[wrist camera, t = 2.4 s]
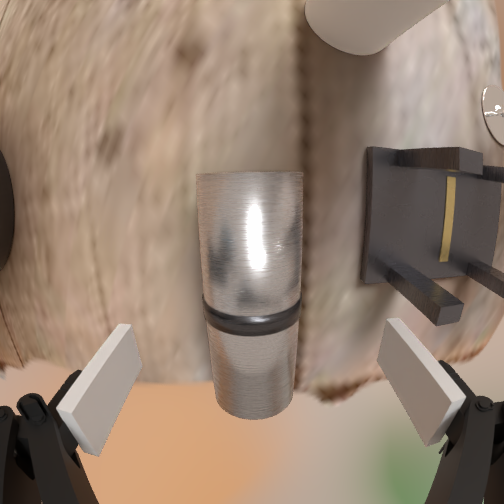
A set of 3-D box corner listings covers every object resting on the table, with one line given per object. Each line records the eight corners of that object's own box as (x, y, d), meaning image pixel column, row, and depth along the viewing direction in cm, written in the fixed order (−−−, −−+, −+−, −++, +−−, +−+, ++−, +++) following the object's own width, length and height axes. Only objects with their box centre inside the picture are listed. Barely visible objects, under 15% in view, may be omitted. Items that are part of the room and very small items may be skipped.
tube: (288, 365, 23) (299, 417, 17) (217, 368, 23) (211, 420, 17) (294, 171, 19) (316, 172, 13) (202, 173, 19) (183, 175, 13)
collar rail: (360, 279, 21) (409, 331, 13) (367, 147, 18) (430, 139, 10) (484, 269, 21) (536, 300, 13) (494, 169, 18) (555, 179, 11)
